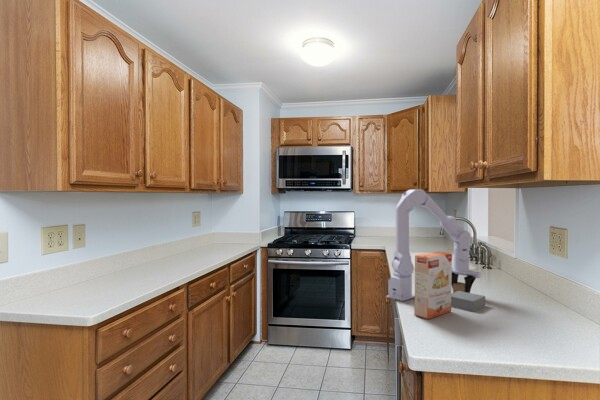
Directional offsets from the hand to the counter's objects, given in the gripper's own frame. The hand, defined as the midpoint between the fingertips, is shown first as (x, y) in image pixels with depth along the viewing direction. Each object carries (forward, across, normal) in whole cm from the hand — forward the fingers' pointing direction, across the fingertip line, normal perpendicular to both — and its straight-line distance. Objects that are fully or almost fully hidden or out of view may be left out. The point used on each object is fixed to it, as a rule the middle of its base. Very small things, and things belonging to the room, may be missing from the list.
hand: (461, 292), depth 146 cm
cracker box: (+2, -4, +29) cm, 29 cm away
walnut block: (+1, 0, 0) cm, 1 cm away
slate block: (+2, -7, +11) cm, 13 cm away
